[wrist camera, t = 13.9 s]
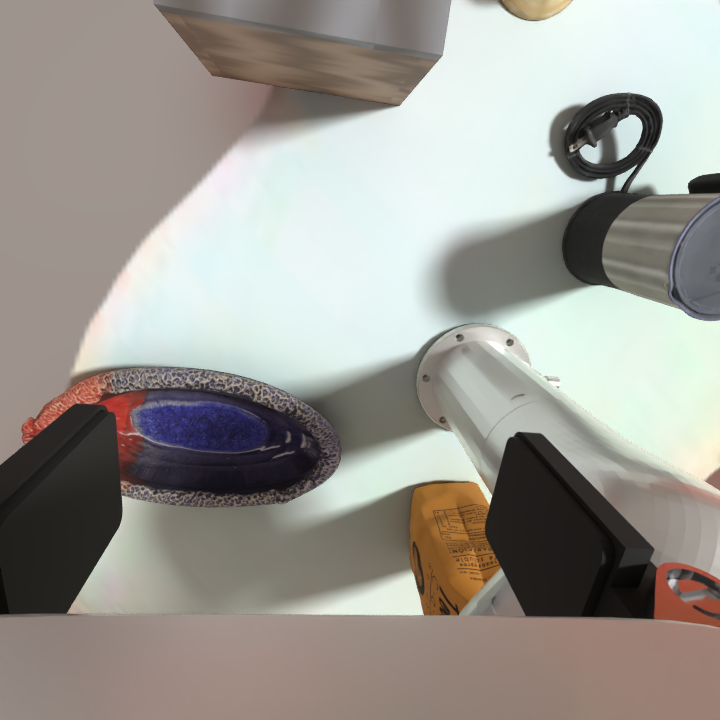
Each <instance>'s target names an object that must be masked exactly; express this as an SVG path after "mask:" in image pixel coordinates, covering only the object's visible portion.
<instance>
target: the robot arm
mask: <svg viewBox="0 0 720 720" xmlns="http://www.w3.org/2000/svg"><path fill="white" fill-rule="evenodd" d="M458 334H459V337H457V338H456V335H458ZM507 340H508V341H507ZM506 341H507V342H506ZM424 375H426V377H423V376H424ZM559 386H560V380H559V378H558V377H552V376H541V374H540V373H538V372H537V371H536V370H534V369H533V368H532V367H531V362H530V358H529V355H528V353H527V351H526V349H525V347H524V346H523V344H522V343H521V342H520V341H519V340H518V339H517V338H516V337H515V336H513V335H512V334H511V333H509V332H508V331H506V330H504V329H502V328H500V327H497V326H494V325H490V324H480V323H479V324H468V325H465V326H461V327H458V328H456V329H453V330H451V331H449V332H447V333H446V334H444V335H443V336H442V337H440V338H439V339H438V340H437V341H436V342H435V343H434V344H433V345H432V346H431V347H430V348H429V349H428V351H427V352H426V354H425V355H424V357H423V359H422V361H421V363H420V366H419V369H418V373H417V383H416V388H417V393H418V398H419V400H420V403H421V405H422V407H423V409H424V410H425V412H426V414H427V415H428V416H429V417H430V418H431V419H432V421H434V422H435V423H436V424H438V425H439V426H441V427H443V428H445V429H447V430H449V431H453V432H454V433H455V435H456V436H457V438H458V440H459V441H460V443H461V445H462V446H463V448H464V450H465V451H466V453H467V455H468V456H469V458H470V460H471V461H472V463H473V465H474V466H475V468H476V470H477V471H478V473H479V475H480V476H481V478H482V480H483V481H484V483H485V485H486V486H487V488H488V489H489V491H490V493H491V494H492V500H491V503H490V507H489V511H488V515H487V519H486V522H485V535H486V538H487V541H488V543H489V545H490V547H491V549H492V551H493V553H494V554H495V556H496V558H497V560H498V562H499V564H500V566H501V568H500V569H499V570H498V571H497V572H496V573H495V574H494V575H493V576H492V577H491V578H490V579H489V580H488V581H487V582H486V583H485V584H484V585H483V586H482V588H481V589H480V590H479V591H478V592H477V593H476V594H475V595H474V596H473V597H472V599H471V600H470V601H469V602H468V603H467V604H466V606H465V607H464V608H463V609H462V611H461V612H460V614H459V616H457V615H311V614H66V613H67V612H68V610H69V608H70V607H71V605H72V604H73V602H74V600H75V599H76V597H77V595H78V594H79V592H80V590H81V589H82V587H83V585H84V584H85V582H86V581H87V579H88V577H89V576H90V574H91V572H92V571H93V569H94V567H95V566H96V564H97V562H98V561H99V559H100V557H101V556H102V554H103V553H104V551H105V549H106V548H107V546H108V544H109V543H110V541H111V539H112V538H113V536H114V534H115V533H116V531H117V530H118V528H119V526H120V523H121V519H122V496H121V481H120V467H119V452H118V438H117V423H116V416H115V413H114V412H108V409H107V407H106V406H105V405H96V404H80V403H76V404H74V405H72V406H71V407H70V408H69V409H67V410H66V411H65V412H64V413H63V414H61V415H60V416H59V417H58V418H57V419H55V420H54V421H53V422H52V423H51V424H49V425H48V426H47V427H46V428H45V429H43V430H42V431H41V432H40V433H39V434H37V435H36V436H35V437H34V438H33V439H31V440H30V441H29V442H28V443H27V444H25V445H24V446H23V447H22V448H20V449H19V450H18V451H17V452H16V453H15V454H13V455H12V456H11V457H10V458H8V459H7V460H6V461H5V462H4V463H2V464H1V465H0V720H720V491H719V490H718V489H716V488H714V487H713V486H711V485H709V484H708V483H706V482H704V481H702V480H700V479H699V478H697V477H695V476H693V475H691V474H689V473H687V472H685V471H683V470H681V469H679V468H677V467H675V466H673V465H671V464H669V463H667V462H665V461H664V460H662V459H660V458H658V457H656V456H654V455H652V454H650V453H648V452H647V451H645V450H643V449H642V448H640V447H638V446H637V445H635V444H633V443H631V442H630V441H628V440H627V439H625V438H624V437H622V436H621V435H620V434H618V433H617V432H615V431H614V430H612V429H611V428H610V427H608V426H607V425H605V424H604V423H602V422H601V421H600V420H598V419H597V418H596V417H594V416H593V415H592V414H590V413H589V412H588V411H587V410H585V409H584V408H582V407H581V406H580V405H578V404H577V403H576V402H575V401H573V400H572V399H571V398H569V397H568V396H567V395H565V394H564V393H563V392H562V391H560V390H559V389H558V388H559ZM441 417H442V418H441Z"/></svg>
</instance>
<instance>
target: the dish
mask: <svg viewBox="0 0 720 720" xmlns="http://www.w3.org/2000/svg"><path fill="white" fill-rule="evenodd" d="M76 403H80V404H96V405H105V406H106V407H107V409H108V412H114V413H115V416H116V423H117V438H118V452H119V467H120V481H121V495H123V496H126V497H130V498H134V499H139V500H144V501H149V502H156V503H163V504H170V505H180V506H191V507H239V506H254V505H266V504H275V503H278V504H285V503H287V502H288V501H290V500H292V499H295V498H297V497H299V496H301V495H303V494H305V493H307V492H309V491H311V490H313V489H314V488H316V487H317V486H319V485H321V484H322V483H324V482H325V481H326V480H327V479H328V478H330V477H331V476H332V475H333V473H334V472H335V470H336V469H337V468H338V465H339V463H340V460H341V446H340V442H339V438H338V436H337V434H336V432H335V430H334V429H333V427H332V426H331V425H330V424H329V422H328V421H327V420H326V419H325V418H324V417H323V416H322V415H321V414H319V413H318V412H317V411H316V410H315V409H313V408H312V407H310V406H309V405H307V404H306V403H304V402H303V401H301V400H299V399H298V398H296V397H294V396H292V395H290V394H288V393H286V392H284V391H282V390H280V389H278V388H275V387H273V386H270V385H268V384H265V383H262V382H259V381H256V380H253V379H250V378H246V377H242V376H238V375H234V374H230V373H224V372H218V371H212V370H204V369H194V368H178V367H138V368H127V369H119V370H114V371H109V372H105V373H100V374H98V375H95V376H92V377H89V378H87V379H84V380H82V381H80V382H79V383H77V384H76V385H74V386H73V387H71V388H69V389H68V390H67V391H65V392H64V393H63V394H61V395H60V396H58V397H56V398H55V399H53V400H51V401H50V402H49V403H48V404H46V405H45V406H44V407H43V409H42V410H41V412H40V413H39V415H38V416H37V418H36V419H33V418H32V417H31V418H29V419H28V420H27V421H26V422H25V423H24V424H23V426H22V433H23V436H22V440H23V443H24V444H27V443H28V442H29V441H30V440H31V439H33V438H34V437H35V436H36V435H37V434H39V433H40V432H41V431H42V430H43V429H45V428H46V427H47V426H48V425H49V424H51V423H52V422H53V421H54V420H55V419H57V418H58V417H59V416H60V415H61V414H63V413H64V412H65V411H66V410H67V409H69V408H70V407H71V406H72V405H74V404H76Z"/></svg>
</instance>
